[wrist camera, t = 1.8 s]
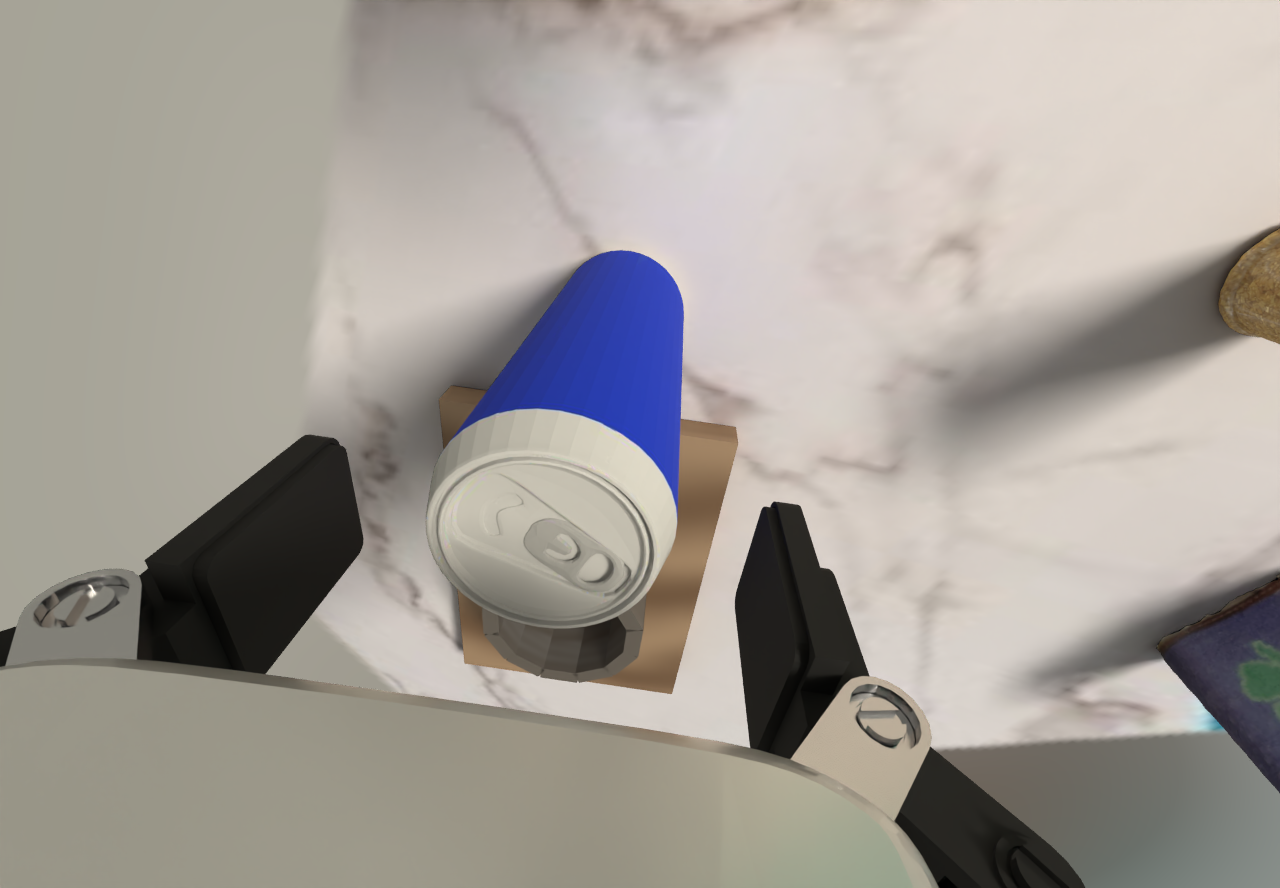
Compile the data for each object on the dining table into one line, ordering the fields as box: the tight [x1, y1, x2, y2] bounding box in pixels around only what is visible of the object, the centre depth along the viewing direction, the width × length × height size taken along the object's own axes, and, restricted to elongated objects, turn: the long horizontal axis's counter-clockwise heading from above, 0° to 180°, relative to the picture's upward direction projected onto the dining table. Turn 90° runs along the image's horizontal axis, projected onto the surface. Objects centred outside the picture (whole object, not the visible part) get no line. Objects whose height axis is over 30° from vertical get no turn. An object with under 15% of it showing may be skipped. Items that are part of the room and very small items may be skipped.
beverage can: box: [426, 250, 684, 628], centre depth 16 cm, size 5×5×15 cm
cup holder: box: [439, 386, 738, 694], centre depth 28 cm, size 20×14×6 cm
